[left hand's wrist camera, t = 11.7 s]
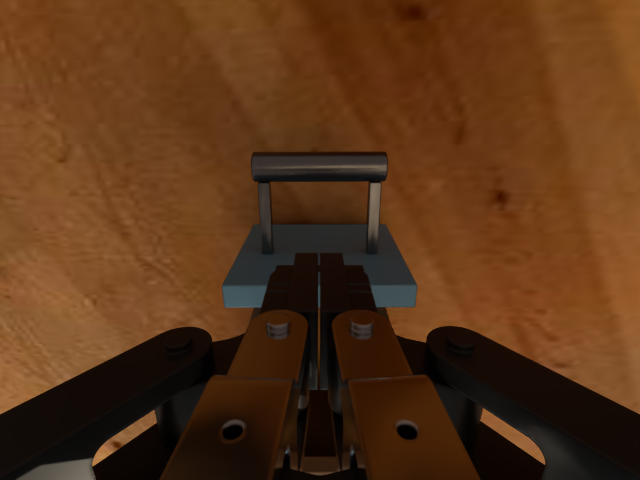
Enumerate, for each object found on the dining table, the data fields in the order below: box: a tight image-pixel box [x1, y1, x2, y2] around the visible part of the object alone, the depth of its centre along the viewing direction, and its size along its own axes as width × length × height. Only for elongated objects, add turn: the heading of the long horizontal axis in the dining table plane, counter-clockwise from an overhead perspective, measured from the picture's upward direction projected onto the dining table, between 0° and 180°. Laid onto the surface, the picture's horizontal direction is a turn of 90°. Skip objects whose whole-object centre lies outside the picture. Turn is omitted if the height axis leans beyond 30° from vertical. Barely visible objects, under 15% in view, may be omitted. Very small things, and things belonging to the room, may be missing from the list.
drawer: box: [222, 152, 417, 457], centre depth 24 cm, size 26×9×9 cm, turn 0°
